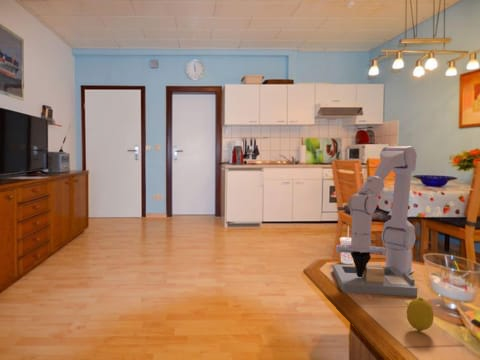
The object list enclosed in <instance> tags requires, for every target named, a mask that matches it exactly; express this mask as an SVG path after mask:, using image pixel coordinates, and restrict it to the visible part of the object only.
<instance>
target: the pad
mask: <svg viewBox="0 0 480 360" xmlns="http://www.w3.org/2000/svg"><path fill="white" fill-rule="evenodd" d="M385 277H386V278H387V279H388V280H389V282H390V283H391V284H405V285H411V284H409V283H408V282H407V281H406V280H405V279H404V278H403V277H392V276H385Z"/></svg>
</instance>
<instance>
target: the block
mask: <svg viewBox="0 0 480 360" xmlns="http://www.w3.org/2000/svg"><path fill="white" fill-rule="evenodd" d="M383 267H384V266H382V265H381V264H379V263H367V265H366V267H365V269H364V272H363V277H364V278H365V280H366V281H369V282H384V268H383Z"/></svg>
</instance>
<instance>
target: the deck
mask: <svg viewBox="0 0 480 360" xmlns="http://www.w3.org/2000/svg"><path fill="white" fill-rule="evenodd" d="M382 267H383V268H384V282H369V281H366V280H365V278H364V277H363V276H362V277H358V276H357V273H356V267H355V264H336V263H333V264H332V273H333V275H334V277H335V279H336V280H337V282H338V286H339V287H340V289H341V291H342V293H347V292H348V293H350V294H368V295H385V296H386V295H388V296H401V297H403V296H404V297H418V287H417V286H416V285H415V279H414V278H413V276H411V274H407V273H404V272H403V274H402V273H401V272H400V271H399V270H398V269H397V268H393V267H386V266H382ZM385 276H392V277H403V278H404V279H405V280H406V281H407V282H408V283H409V284H411V285H405V284H391V283H390V282H389V280H388V279H387V278H386V277H385ZM348 293H347V294H348Z"/></svg>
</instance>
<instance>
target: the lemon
mask: <svg viewBox="0 0 480 360" xmlns="http://www.w3.org/2000/svg"><path fill="white" fill-rule="evenodd" d="M406 318H407V321H408V324H409V325H410V326H411V327H412V328H414V329H415V330H416V331H417V332H420V333H421V332H422V331H426V330H428V329H430V328H431V327H432V325H433V323H434V309H433V307H432V304H431V303H430V302H429V301H427V300H426V299H424V298H423V297H421V296H420V297H418V298H417V297H416V298H415V299H412V300H411V301H410V302H409V303H408V305H407V309H406Z"/></svg>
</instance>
